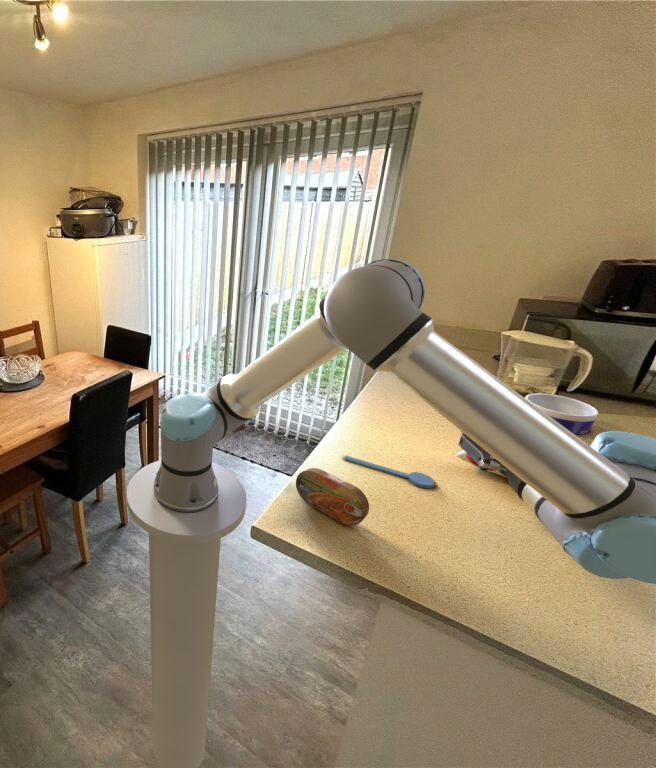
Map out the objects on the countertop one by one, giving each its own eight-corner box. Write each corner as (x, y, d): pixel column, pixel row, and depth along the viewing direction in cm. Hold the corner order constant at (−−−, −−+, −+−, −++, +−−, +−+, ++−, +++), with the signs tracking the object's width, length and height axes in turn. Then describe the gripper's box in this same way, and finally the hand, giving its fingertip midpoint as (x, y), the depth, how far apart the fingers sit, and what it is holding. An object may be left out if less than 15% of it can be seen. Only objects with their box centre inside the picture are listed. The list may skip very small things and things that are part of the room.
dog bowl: (599, 439, 108) (609, 420, 105) (526, 427, 115) (534, 408, 112) (577, 416, 120) (585, 398, 117) (512, 406, 127) (519, 389, 124)
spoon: (343, 463, 100) (343, 460, 100) (347, 454, 104) (347, 451, 103) (432, 491, 90) (433, 487, 89) (433, 480, 93) (435, 476, 93)
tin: (292, 495, 89) (297, 464, 86) (300, 489, 91) (305, 459, 88) (359, 534, 78) (367, 500, 75) (366, 527, 80) (375, 493, 76)
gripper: (471, 499, 70) (426, 435, 90) (613, 520, 64) (532, 446, 84) (484, 463, 67) (435, 405, 87) (635, 482, 61) (545, 416, 81)
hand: (483, 426), depth 86 cm, fingers closed on beverage can, 7 cm apart
